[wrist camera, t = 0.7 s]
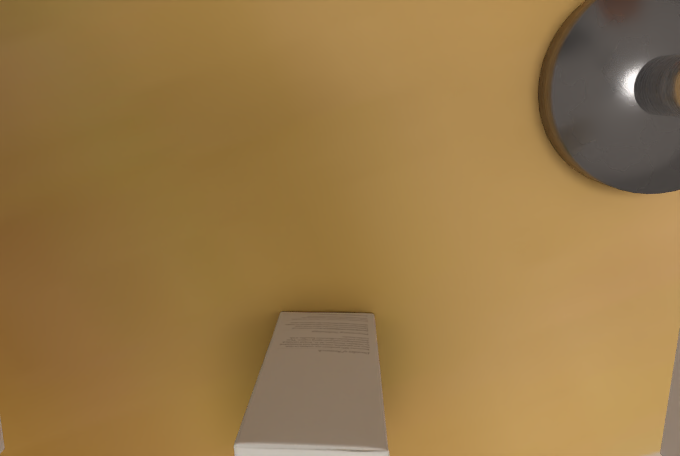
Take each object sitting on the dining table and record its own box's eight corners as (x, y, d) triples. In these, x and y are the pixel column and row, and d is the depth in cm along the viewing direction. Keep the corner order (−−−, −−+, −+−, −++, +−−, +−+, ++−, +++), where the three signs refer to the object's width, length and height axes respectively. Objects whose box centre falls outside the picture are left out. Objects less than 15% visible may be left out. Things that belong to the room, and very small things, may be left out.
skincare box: (371, 423, 40) (390, 629, 25) (273, 421, 40) (232, 626, 25) (375, 306, 38) (399, 452, 23) (273, 304, 38) (227, 449, 23)
